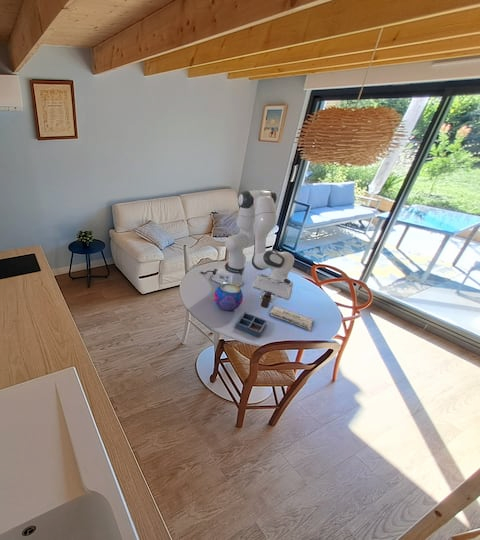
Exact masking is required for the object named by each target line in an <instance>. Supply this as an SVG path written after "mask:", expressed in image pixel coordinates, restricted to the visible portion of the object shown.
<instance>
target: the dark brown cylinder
mask: <svg viewBox="0 0 480 540" xmlns="http://www.w3.org/2000/svg"><path fill="white" fill-rule="evenodd" d="M270 299H272V294H271V292H269V291H267V292H264V293H263V299H261V302H260V303H261V304H260V307H261V308H263V309H268V308H270V303H271V302H270Z"/></svg>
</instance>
